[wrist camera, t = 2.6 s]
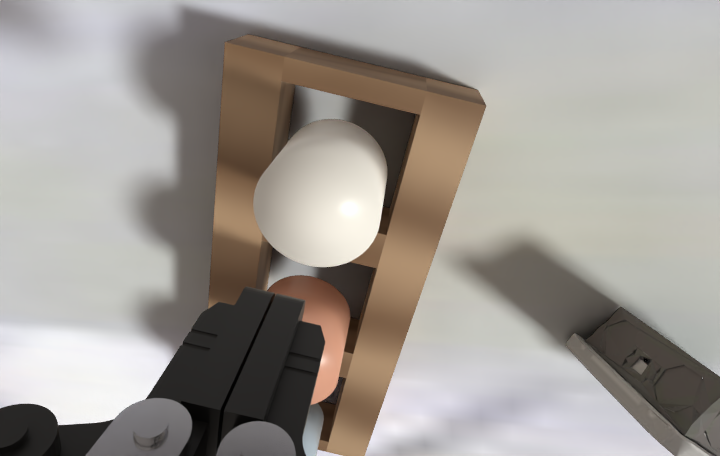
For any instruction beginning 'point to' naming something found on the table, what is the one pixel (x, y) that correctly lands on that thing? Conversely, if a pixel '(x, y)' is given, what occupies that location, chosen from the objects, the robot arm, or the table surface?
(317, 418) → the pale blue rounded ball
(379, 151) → the white egg
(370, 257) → the wooden egg rack
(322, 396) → the pink rounded piece
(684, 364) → the electrical switch
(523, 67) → the table surface
